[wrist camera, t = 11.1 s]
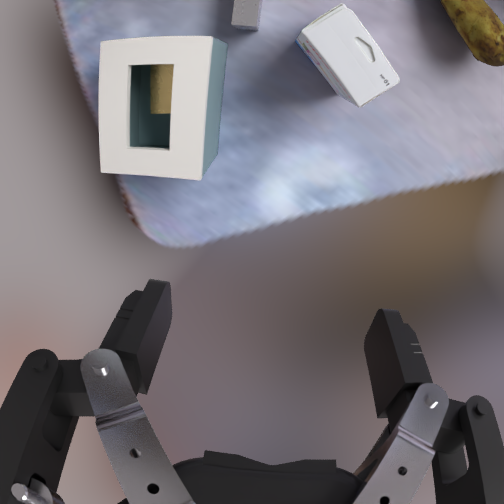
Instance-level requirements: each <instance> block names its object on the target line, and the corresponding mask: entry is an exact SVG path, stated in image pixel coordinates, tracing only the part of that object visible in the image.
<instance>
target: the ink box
mask: <svg viewBox="0 0 504 504" xmlns="http://www.w3.org/2000/svg"><path fill="white" fill-rule="evenodd" d="M295 42H296V43H297V44H298V45H299V47H300V48H301V49H302V50H303V51H304V53H305V54H306V55H307V56H308V58H309V59H310V60H311V61H312V62H313V64H314V65H315V66H316V67H317V69H318V70H319V71H320V72H321V74H322V75H323V76H324V77H325V79H326V80H327V81H328V83H329V84H330V85H331V87H332V88H333V89H334V91H335V92H336V94H337V95H339V96H341V97H343V98H344V99H346V100H348V101H349V102H351V103H353V104H354V105H356V106H357V107H359V108H361V107H363V106H364V105H366V104H367V103H369V102H370V101H372V100H373V99H375V98H376V97H378V96H379V95H381V94H382V93H384V92H386V91H387V90H389V89H390V88H392V87H393V86H395V85H396V84H398V83H399V82H400V79H399V77H398V75H397V73H396V72H395V70H394V69H393V68H392V66H391V64H390V63H389V61H388V60H387V58H386V57H385V55H384V54H383V52H382V51H381V49H380V48H379V47H378V45H377V44H376V42H375V41H374V39H373V38H372V37H371V35H370V34H369V32H368V31H367V30H366V28H365V27H364V26H363V25H362V23H361V22H360V20H359V19H358V18H357V17H356V15H355V14H354V12H353V11H352V10H351V9H348V8H347V7H346V6H345V5H344V4H339V5H338V6H336V7H334V8H333V9H331V10H329V11H328V12H326V13H325V14H323V15H322V16H320V17H319V18H317V19H316V20H314V21H313V22H311V23H310V24H309V25H308V26H306V27H305V28H304V29H302V31H301V33H300V34H299V36H298V37H297V39H296V40H295Z"/></svg>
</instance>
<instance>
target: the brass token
mask: <svg viewBox="0 0 504 504" xmlns="http://www.w3.org/2000/svg"><path fill="white" fill-rule="evenodd" d="M173 70H174V64H151V68H150V101H151V114H167V113H171V101H172V85H173Z"/></svg>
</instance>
